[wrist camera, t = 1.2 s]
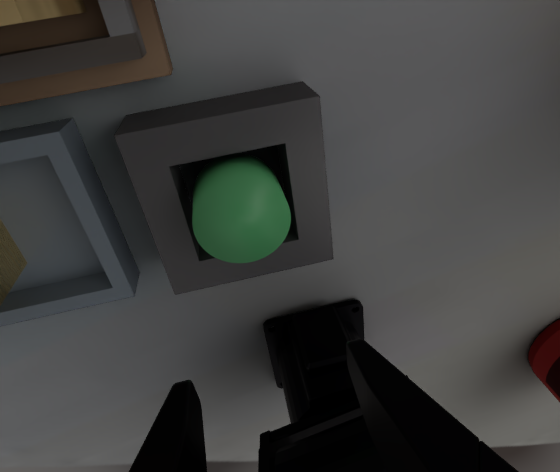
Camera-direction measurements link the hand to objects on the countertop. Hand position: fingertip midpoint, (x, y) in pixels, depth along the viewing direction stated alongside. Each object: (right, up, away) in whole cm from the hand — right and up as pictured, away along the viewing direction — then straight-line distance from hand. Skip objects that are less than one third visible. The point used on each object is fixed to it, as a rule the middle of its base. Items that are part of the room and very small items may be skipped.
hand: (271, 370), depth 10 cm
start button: (-2, +5, +9) cm, 10 cm away
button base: (-2, +6, +10) cm, 12 cm away
